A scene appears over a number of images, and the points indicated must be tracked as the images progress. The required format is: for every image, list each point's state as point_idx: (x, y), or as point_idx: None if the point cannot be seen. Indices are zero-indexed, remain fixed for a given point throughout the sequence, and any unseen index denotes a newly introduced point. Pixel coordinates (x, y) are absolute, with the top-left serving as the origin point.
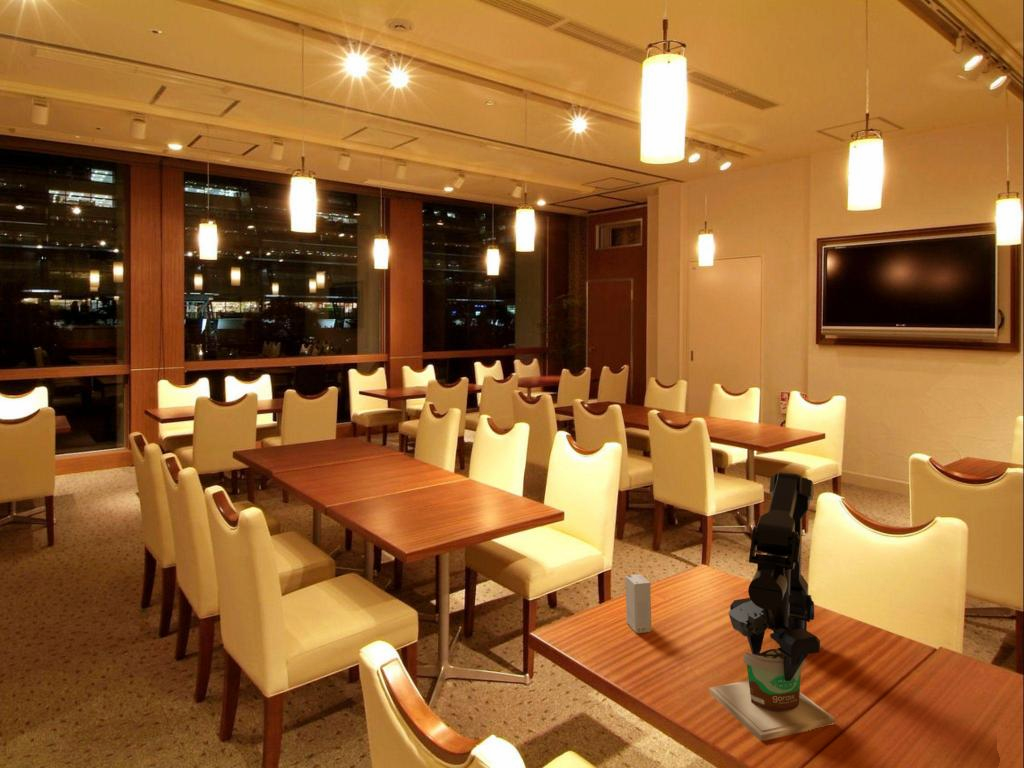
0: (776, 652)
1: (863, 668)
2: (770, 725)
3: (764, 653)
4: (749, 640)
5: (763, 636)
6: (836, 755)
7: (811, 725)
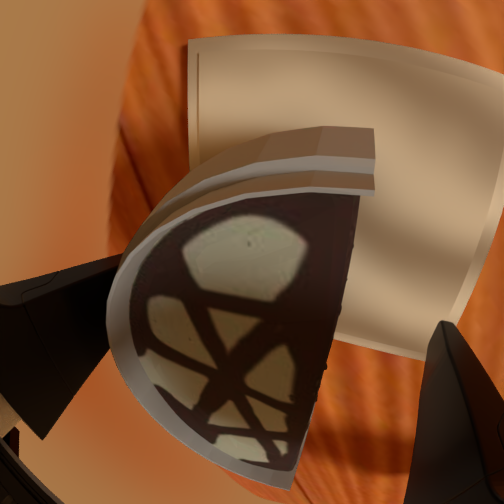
0: (263, 399)
1: (337, 465)
2: (213, 98)
3: (300, 346)
4: (486, 402)
5: (408, 480)
6: (120, 191)
7: None
